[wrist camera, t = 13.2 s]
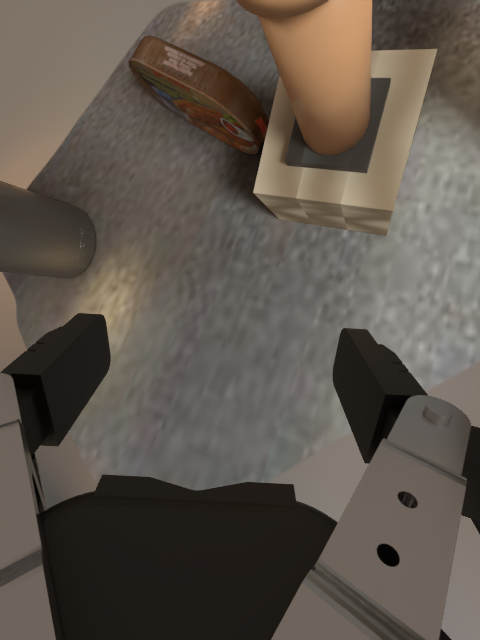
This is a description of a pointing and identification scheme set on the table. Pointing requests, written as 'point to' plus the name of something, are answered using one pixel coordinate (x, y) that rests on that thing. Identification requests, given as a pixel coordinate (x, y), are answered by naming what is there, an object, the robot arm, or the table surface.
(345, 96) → the flanged tan peg
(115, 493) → the robot arm
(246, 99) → the tin
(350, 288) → the table surface
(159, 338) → the table surface
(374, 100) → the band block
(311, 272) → the table surface
